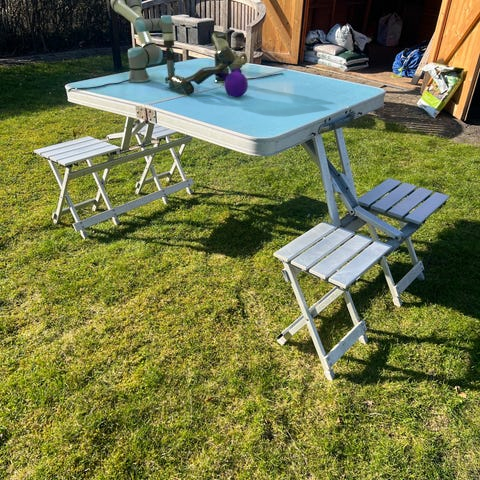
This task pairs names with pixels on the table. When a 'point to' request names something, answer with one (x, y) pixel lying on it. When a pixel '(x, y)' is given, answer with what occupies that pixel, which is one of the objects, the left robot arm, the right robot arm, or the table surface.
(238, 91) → the toy
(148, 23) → the left robot arm
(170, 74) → the bottle
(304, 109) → the table surface
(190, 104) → the table surface
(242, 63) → the teapot
